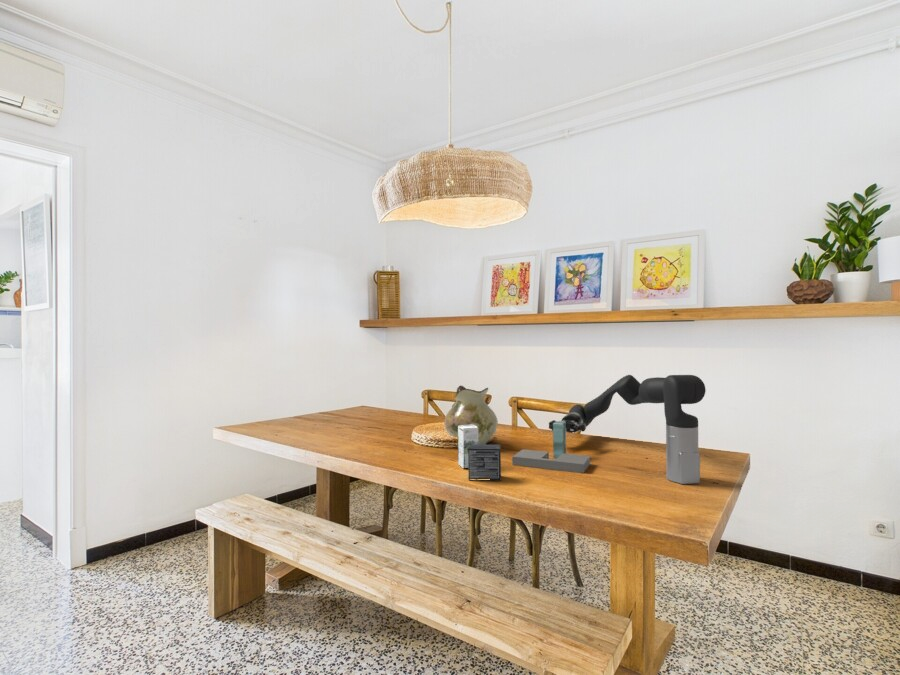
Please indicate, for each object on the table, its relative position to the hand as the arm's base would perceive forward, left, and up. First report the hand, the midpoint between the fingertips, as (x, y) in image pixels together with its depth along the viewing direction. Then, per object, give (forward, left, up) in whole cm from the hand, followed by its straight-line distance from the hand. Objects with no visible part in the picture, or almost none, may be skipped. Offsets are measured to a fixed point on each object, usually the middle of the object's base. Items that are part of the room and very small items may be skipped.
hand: (563, 428), depth 188 cm
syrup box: (-17, +39, -9) cm, 44 cm away
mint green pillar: (-6, +3, -9) cm, 12 cm away
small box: (-31, +35, -10) cm, 48 cm away
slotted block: (-17, +9, -9) cm, 21 cm away
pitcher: (+16, +35, -9) cm, 40 cm away
